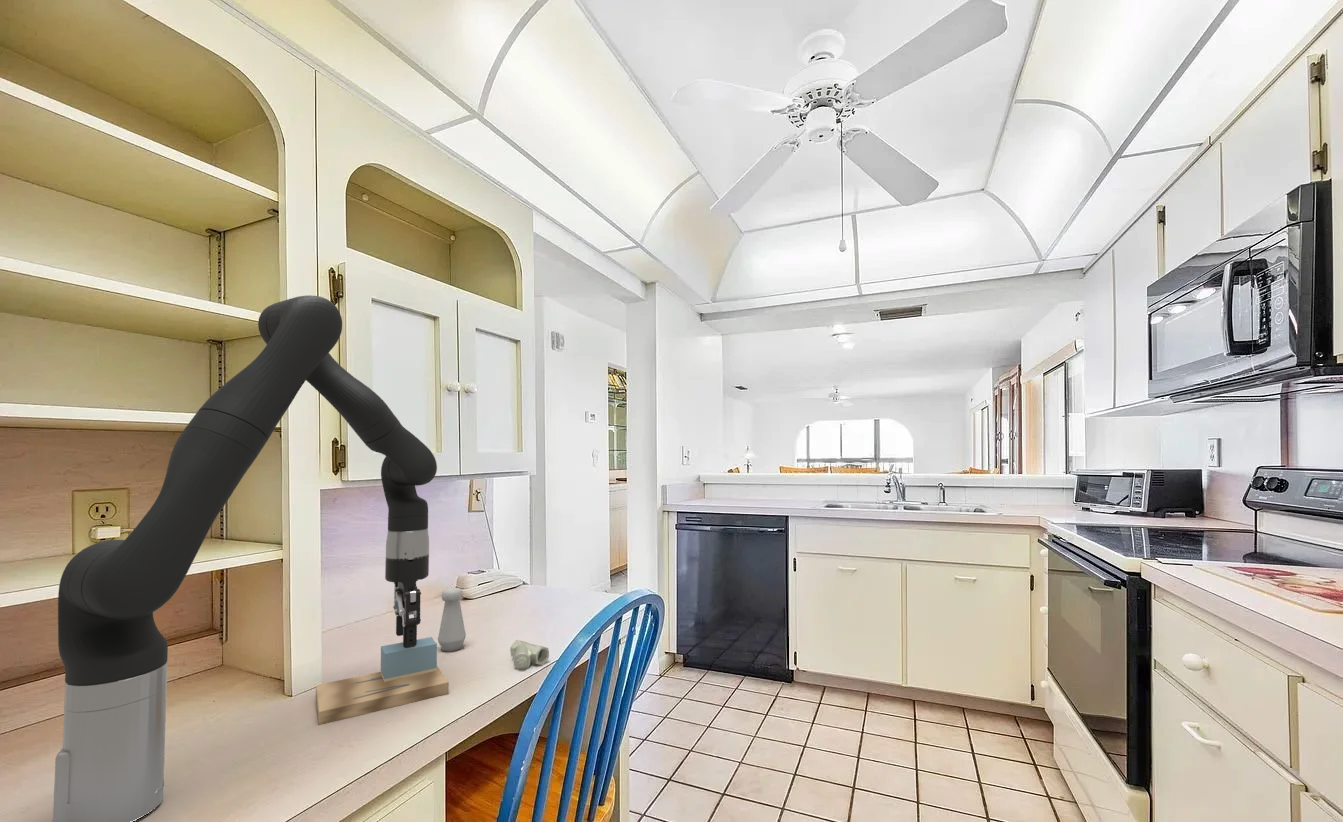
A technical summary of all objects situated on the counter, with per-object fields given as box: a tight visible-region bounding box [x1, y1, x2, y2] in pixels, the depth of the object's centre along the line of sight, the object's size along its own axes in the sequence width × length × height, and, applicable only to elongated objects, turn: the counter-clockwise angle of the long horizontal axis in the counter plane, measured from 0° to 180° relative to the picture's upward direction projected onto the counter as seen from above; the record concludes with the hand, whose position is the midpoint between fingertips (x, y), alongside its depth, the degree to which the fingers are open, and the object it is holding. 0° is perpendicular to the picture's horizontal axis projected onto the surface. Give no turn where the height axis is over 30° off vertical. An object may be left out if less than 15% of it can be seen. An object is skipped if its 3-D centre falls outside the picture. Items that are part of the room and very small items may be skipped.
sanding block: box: [380, 636, 438, 682], centre depth 110 cm, size 9×5×5 cm, turn 124°
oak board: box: [315, 665, 449, 725], centre depth 104 cm, size 20×13×2 cm, turn 123°
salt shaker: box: [437, 587, 467, 652], centre depth 129 cm, size 6×6×13 cm
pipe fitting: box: [509, 639, 550, 670], centre depth 119 cm, size 8×4×7 cm
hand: (405, 640), depth 109 cm, fingers open, 8 cm apart
